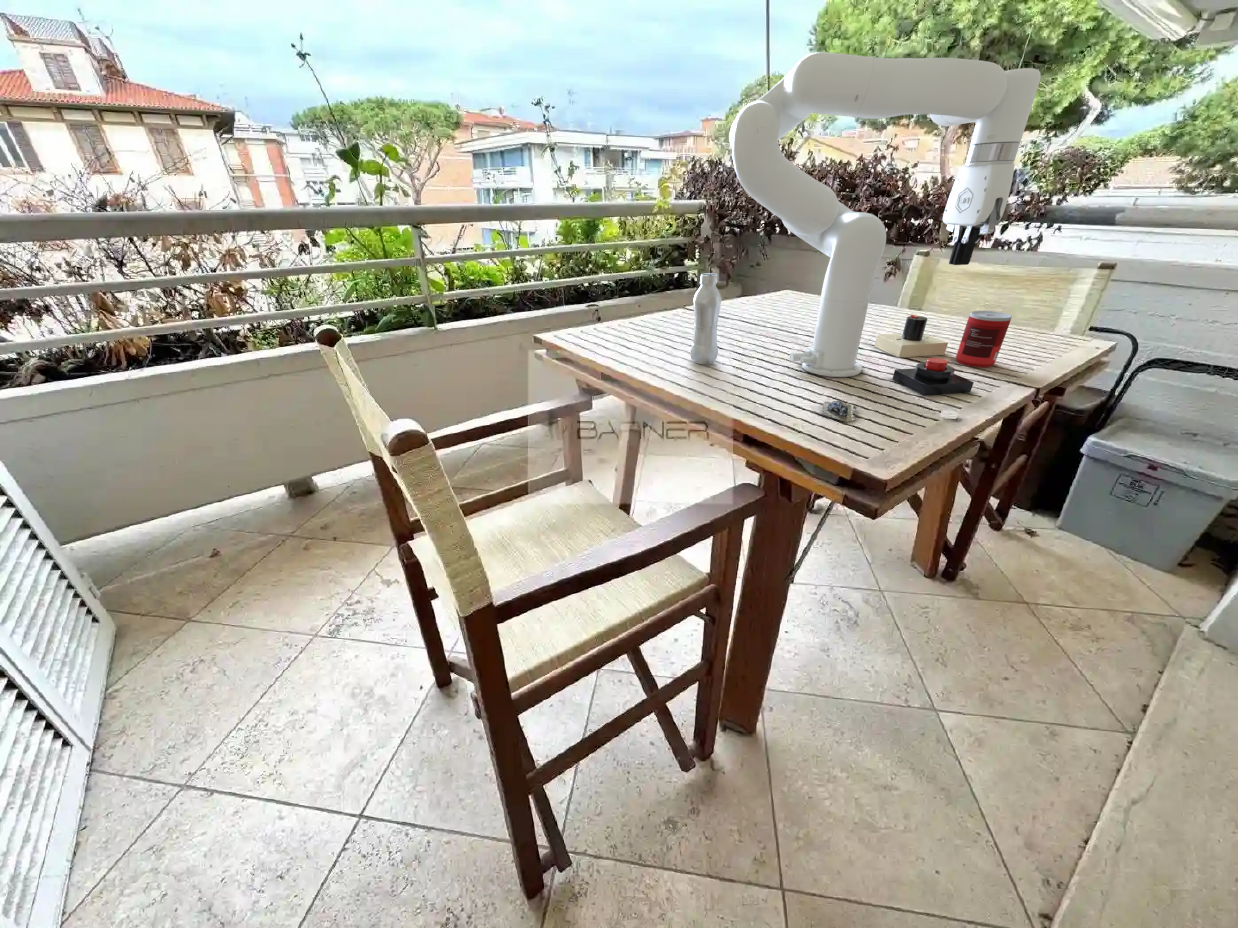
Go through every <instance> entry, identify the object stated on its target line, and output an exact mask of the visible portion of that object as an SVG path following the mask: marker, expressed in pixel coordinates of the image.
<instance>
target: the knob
mask: <svg viewBox="0 0 1238 928" xmlns="http://www.w3.org/2000/svg"><path fill="white" fill-rule="evenodd" d="M927 323H928V318H927V317H925V316H920V315H919V316H918V315H915V314H910V315H909V316H906V320H905V324H904V327H903V330H902V333H901V334H902V338H903V339H905V340H911V341H919V340H922V337H923V334H925V330H926V326H927Z"/></svg>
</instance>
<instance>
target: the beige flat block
mask: <svg viewBox="0 0 1238 928" xmlns="http://www.w3.org/2000/svg"><path fill="white" fill-rule="evenodd" d="M902 334H903V333H888V334H877V335H876V338H875V343H874V348H876V349H878V350H881V351H883V352H885V353H887V354H889V355H891V356H894V357H897V358H912V357H928V356H930V357H931V356H944V355H946V351H947V348H948V345H949V342H948V341H945V340H942V339H939V338H937V337H934V336H931V335H929V334H926V333H924V334H923V337H922V340H919V341H911V340H905V339H903V338H902Z"/></svg>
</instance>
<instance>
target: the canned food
mask: <svg viewBox="0 0 1238 928" xmlns="http://www.w3.org/2000/svg"><path fill="white" fill-rule="evenodd" d="M1012 317H1013V316H1012V315H1011V314H1009V313H1006V312H1002V311H995V310H973V311H971V312H970V313H969V315H968V318H967V321H966V325H965V327H964V330H963V333H962V336H961V340H960V343H959V345H958V349H957V353H956V355H955V361H956V363H958V364H961V365H963V366H967V367H972V368H980V369H981V368H991V367H994V365H995V364H996V361H997V358H998V356H999V353H1000V350H1001V348H1002V345H1003V343H1004V340H1005V338H1006V335H1007V332H1008V329H1009V326H1010V323H1011V321H1012Z"/></svg>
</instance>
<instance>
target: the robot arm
mask: <svg viewBox="0 0 1238 928" xmlns="http://www.w3.org/2000/svg"><path fill="white" fill-rule="evenodd" d="M1041 75H1042V74H1041V71H1040V70H1039V69H1037V68H1034V67H1023V68H1013V69H1008V70H1004V69H1003V67H1001V65H999V64H998V63H995V62H992V61H987V60H979V59H970V58H958V57H898V58H896V57H895V58H892V57H891V58H890V57H889V58H888V57H877V56H866V55H857V54H849V53H847V54H846V53H838V52H827V51H815V52H812V53H809V54H806V55H805V56H803V57H802V58H801V59H800V60H799V61H798V62H796V64H795V65H794V66H793V67H792V69H791V70H790V71H789V72H788V73H787V74H786V75H785V76H784V77H783V78H782V79H781V80H779V81H778V82H777V83H776V84H775V85H774V86H773V87H771V88H770V89H769V90H768V91H767V92H766V93H765V94H763V95H762V96H760V97H759V99H757V100H755V101H752V102H750V103H748V104H747V105H745V106H743V108H742V109H741V110H740V111H739V112H738V114H737V115H736V116H735V119H734V120H733V122H732V124H731V127H730V130H729V135H728V137H729V144H730V147H731V149H732V163H733V167H734V171H735V175H736V177H737V179H738V182H739V184H740V185H741V187H742V189H743V190H744V191H745V193H746V194H747V195H749V196H750V198H751V199H753V200H754V201H756V202H757V203H758V204H759V205H761V206H762V207H763V208H765V209H766V210H768V212H770V213H771V214H773V215H774V216H776V217H777V218H778V219H780V220H781V222H782V224H783V226H784V227H785V228H786V230H788V231H789V232H790V233H792V234H793V235H795V236H796V237H798V238H799V239H801V240H802V241H804V242H805V243H807V244H808V245H810V246H811V247H812V248H814V249H816V250H817V251H819V252H821V253H822V254H824V255H825V256H827V257H828V258H829V261H828V265H827V268H826V272H825V274H824V278H823V284H822V289H821V294H820V300H819V307H818V311H817V318H816V323H815V329H814V333H813V334H814V336H813V341H812V346H807V348H806V350H804V351H803V352H791V353H790V354H789V360H790V361H789V362H799V363H800V364H801V368H802V369H803V370H805V371H806V372H809V373H811V374H814V375H818V376H822V377H831V378H849V377H854V376H858V375H859V374H861V373H862V369H863V366H862V364H861V363H859V362H858V361H857V358H858V353H859V349H860V343H861V340H862V335H863V329H864V325H865V321H866V316H867V313H868V307H869V303H870V298H871V294H872V290H873V286H874V282H875V277H876V273H877V271H878V268H879V265H880V263H881V260H882V257H883V254H884V251H885V248H886V244H887V231H886V227H885V224H884V222H883V221H882V220H881V219H880V218H879V217H877V216H876V215H875V214H872V213H869V212H863V211H862V212H861V211H854V210H852V209H851V208H849V207H848V206H847V205H845V204H844V203H842V202H840V201H839V200H838V196H837V195H836V193H835V191H834V190H833V189H832V188H830V186H827V185H826V184H824V183H823V182H820V181H819V180H817V179H816V178H814V177H812V176H811V175H809V174H808V173H807V172H805V171H804V170H802V169H800V167H798V166H797V165H796V164H794V163H793V162H791V161H790V160H789V159H788V158H787V156H785V154H784V153H783V152H782V151H781V148H780V144H779V141H780V140H781V139H782V138H784V137H785V136H786V135H787V134H789V133H790V132H792V130H794V129H795V128H796V127H797V126H798V125H800V124H801V123H802V122H804V121H805V120H806V119H807V118H808V117H809V116H810V115H812V114H819V115H820V114H821V115H829V116H830V115H832V116H839V117H849V118H850V117H851V118H858V119H865V120H882V119H888V118H893V117H898V116H906V115H908V116H909V115H929V118H930V119H931V121H932V122H933V123H934V124H936V125H938V126H941V127H954V126H958V125H963V124H969V123H975V126H974V128H973V132H972V136H971V140H970V145H969V148H968V151H967V155H966V158H965V162H964V166H961V167H960V169H959V172H958V173H957V175H956V178H955V180H954V183H953V185H952V188H951V191H950V193H949V196H948V199H947V203H946V205H945V208H944V211H943V216H942V222H943V224H945V225H946V230H947V231H949V232H951V233H952V235H953V237H952V242H953V243H954V244H953V247H952V250H951V254H950V257H949V261H948V264H949V265H952V266H967V265H969V264H970V262H971V259H972V256H973V252H974V249H975V246H976V244H977V243H979V242H980V239H981V238H982V237H983V236H984V235H987V234H992V233H994V231H995V227H996V225H997V224H998V223H1000V222H1001V219H1002V217H1003V215H1004V212H1005V210H1006V207H1007V205H1008V201H1009V198H1010V197H1009V196H1010V193H1011V188H1012V183H1013V179H1014V172H1015V165H1016V164H1015V161H1016V158H1017V154H1018V151H1019V148H1020V145H1021V142H1022V138H1023V136H1024V132H1025V131H1026V130H1025V129H1026V126H1027V123H1028V119H1029V117H1030V114H1031V110H1032V108H1033V104H1034V101H1035V98H1036V95H1037V92H1038V88H1039V85H1040V82H1041Z"/></svg>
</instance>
